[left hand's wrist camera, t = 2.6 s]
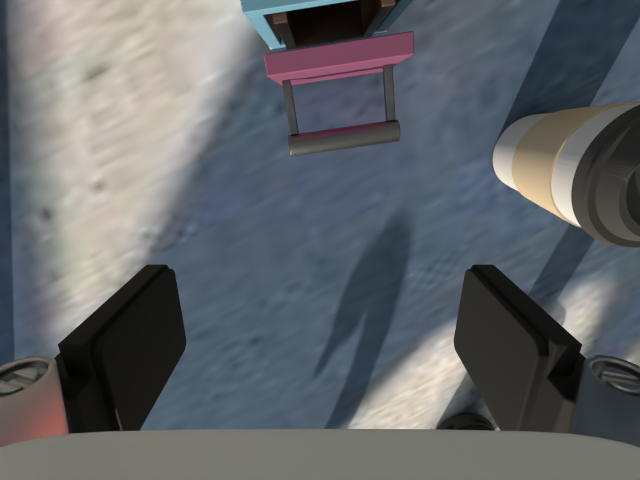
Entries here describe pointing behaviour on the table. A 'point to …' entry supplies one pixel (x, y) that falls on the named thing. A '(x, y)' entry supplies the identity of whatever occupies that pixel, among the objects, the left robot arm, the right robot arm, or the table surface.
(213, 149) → the table surface
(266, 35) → the light blue storage box
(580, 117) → the coffee cup
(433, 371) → the table surface
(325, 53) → the drawer
